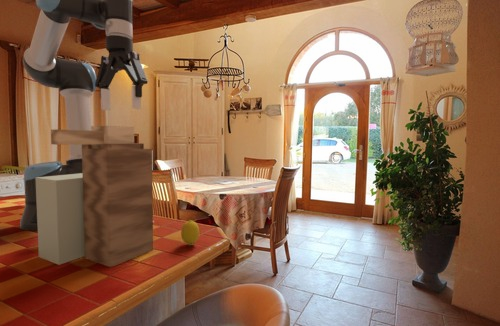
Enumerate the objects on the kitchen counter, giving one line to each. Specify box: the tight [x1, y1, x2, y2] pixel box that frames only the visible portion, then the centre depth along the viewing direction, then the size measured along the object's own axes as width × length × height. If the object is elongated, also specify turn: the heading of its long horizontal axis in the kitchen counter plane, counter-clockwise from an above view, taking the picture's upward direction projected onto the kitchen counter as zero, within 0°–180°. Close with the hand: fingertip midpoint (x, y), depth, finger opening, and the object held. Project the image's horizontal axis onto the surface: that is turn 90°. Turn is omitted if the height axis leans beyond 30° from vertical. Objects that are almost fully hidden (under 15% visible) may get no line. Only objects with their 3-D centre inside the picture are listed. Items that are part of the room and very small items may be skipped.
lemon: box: [180, 219, 200, 246], centre depth 94 cm, size 6×6×8 cm
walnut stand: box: [82, 142, 154, 268], centre depth 85 cm, size 11×14×32 cm
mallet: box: [50, 125, 135, 149], centre depth 77 cm, size 7×19×6 cm, turn 150°
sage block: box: [36, 173, 85, 266], centre depth 86 cm, size 10×14×22 cm
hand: (120, 109), depth 93 cm, fingers open, 13 cm apart
